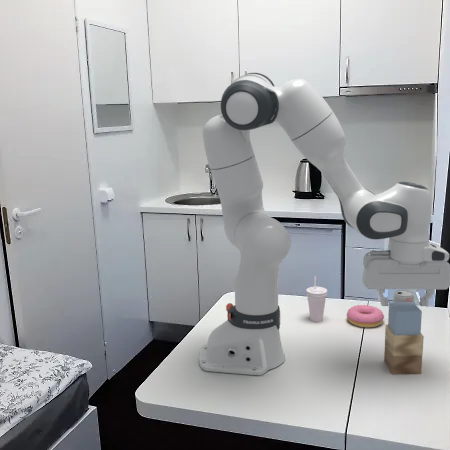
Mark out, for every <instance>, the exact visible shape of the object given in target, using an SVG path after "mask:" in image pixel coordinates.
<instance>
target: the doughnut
mask: <svg viewBox="0 0 450 450" xmlns="http://www.w3.org/2000/svg"><path fill="white" fill-rule="evenodd" d="M346 316H347V318H346V319H347V321H348V322H349V323H350V324H352V325H354V326H356V327H360V328H375V327H378V326H379V325H382V323H383V321H384V319H385V315H384V313H383V310H381V309H379V308H378V307H377V306H373V305H367V304H357V305H354V306H352V307H350V308H349V309H348V310H347V312H346Z"/></svg>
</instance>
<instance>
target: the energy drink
mask: <svg viewBox="0 0 450 450" xmlns="http://www.w3.org/2000/svg"><path fill="white" fill-rule="evenodd" d="M399 302H414V303H415V295H414V293H413V292H412V291H411V290H409V289H396V290H395V291H394V294H393V303H399Z"/></svg>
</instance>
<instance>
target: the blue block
mask: <svg viewBox="0 0 450 450" xmlns="http://www.w3.org/2000/svg"><path fill="white" fill-rule="evenodd" d="M388 304H389V305H388V319H387V323H388V324H387V325H388V326H389V327H390V329H391V330H392V331H393V333H394V334H395V335H421V334H422V332H421V330H422V317H423V316H422V313H423V311H422V310H421V309H420V307H418V306H417V304H415V301H414V302H399V303H394V302H389V303H388Z"/></svg>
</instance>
